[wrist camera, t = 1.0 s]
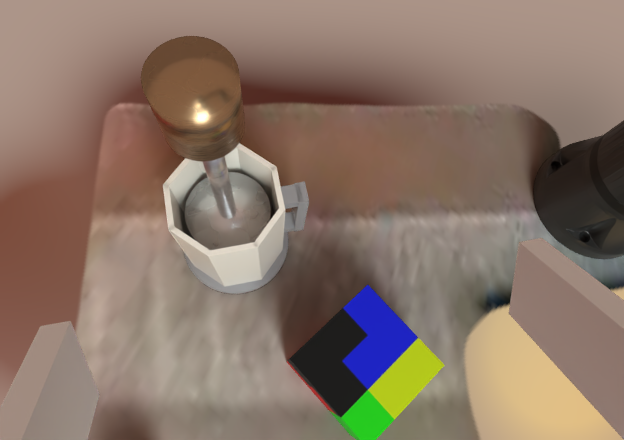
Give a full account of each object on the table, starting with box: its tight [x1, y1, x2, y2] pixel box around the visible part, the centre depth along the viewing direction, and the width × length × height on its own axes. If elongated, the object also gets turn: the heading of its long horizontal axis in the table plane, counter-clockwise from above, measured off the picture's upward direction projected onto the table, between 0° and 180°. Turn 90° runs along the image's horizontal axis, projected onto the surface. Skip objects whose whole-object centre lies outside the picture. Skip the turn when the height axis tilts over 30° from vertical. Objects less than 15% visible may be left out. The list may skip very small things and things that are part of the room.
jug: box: [163, 143, 309, 294], centre depth 48 cm, size 14×12×15 cm
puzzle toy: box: [287, 285, 444, 440], centre depth 47 cm, size 10×10×10 cm
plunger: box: [141, 36, 271, 250], centre depth 35 cm, size 8×8×22 cm
